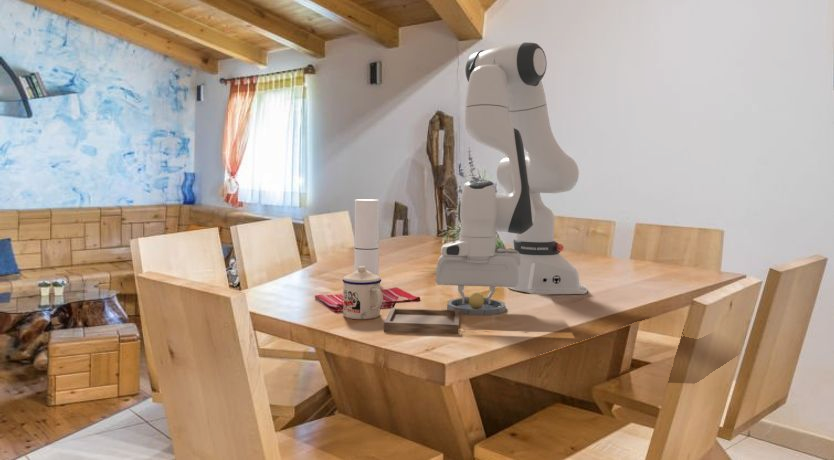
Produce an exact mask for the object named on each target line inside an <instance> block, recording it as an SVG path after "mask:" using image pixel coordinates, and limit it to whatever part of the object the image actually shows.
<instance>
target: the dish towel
mask: <svg viewBox="0 0 834 460" xmlns="http://www.w3.org/2000/svg"><path fill="white" fill-rule="evenodd" d="M380 291H381V292H382V295H383V302H382V305H381V307H380V310H381V309H391V308H392V307H394V308H395V306H396V304H397V303H406V302H408V303H413V302H419V301H421V297H420V296H416V295H413V294H411V293H409V292H408V291H405V290H403V289H401V288H400V287H398V286H397V287H392V288H386V289H380ZM400 297H402V298H406V299H399V298H400ZM314 299H315V301H316V302H317V303H319V304H321V305H322V306H323V307H325V308H326V309H328V310H329V311H330V312H332V313H343V293H341V294H340V293H339V294H338V293H337V294H317V295H316V294H315V295H314Z"/></svg>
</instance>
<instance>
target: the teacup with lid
mask: <svg viewBox="0 0 834 460" xmlns="http://www.w3.org/2000/svg"><path fill="white" fill-rule="evenodd" d="M381 282H382V278H381V276H379V275H378V276H377V275H374V274H372V273H371V272H369V271H366V267H365V266H359V267H358V271H354V270H353V272H352V273H350V274H346V275H344V277H343V278H342V283H343V287H342V288H343V291H342V292H343V293H342V294H343V312H342V314H343V316H344V317H345V318H347V319H352V320H371V319H375V318H378V317H380V315H381V309H380V307H381V305H382V302H383V295H382V292H381V291H380V290H381Z"/></svg>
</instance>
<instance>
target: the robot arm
mask: <svg viewBox="0 0 834 460" xmlns="http://www.w3.org/2000/svg"><path fill="white" fill-rule="evenodd" d="M467 59H468V60H467V61H466V64H465V68H464V70H465V77H466V80H467V82H468V83H467V89H466V95H465V105H464V106H465V107H464V108H465V109H464V123H465V129H466V131H467V132H468V134H469V136H470V137H471V138H472V139H473V140H475V141H476V142H478V143H480V144H482V145H484V146H486V147H489V148H491V149H494V150H495V151H499V152H500V153H502V154H504V155H505V156H506V157H504V158H502V159H501V160H500V161H499V163H498V165H497V168H496V178H497V179H496V180H497V182H498V183H499V185H500V186H501V187H502V188H503V189H504V190H505V192H506V193H497V191H496V185H495V183H494V182H493V181H490V180H487V179H473V180H472V179H471V180H467V181H466V182H464V183H463V187H462V191H461V198H460V201H459V202H458V210H457V211H458V212H457V213H458V214H457V215H458V216H457V218H458V221H459V223H460V224H461V227H460V231H459V239H457V240H453V241H449V242H446V243H444V244H442V246H441V248H440V253H441V255H440V256H439V257H438V259H437V263H436V267H435V277H434V280H435V283H436V284H437V285H438V286H456V287H457V291H458V293H459V295H460V296H461V298H462V304H468V298H469V295H465V293H464V288H465V287H466V286H467V287H488V288H489V293H488V295H483V296H484V300H485V301H484V304H486V305H490V299H492V297H493V295H494V294H495V292H496V287H498V288H500V287H502V288H508V289H510V290H512V291H516V292H523V293H528V294H531V295H584V294H587V292H588V288H587V286H586V285H585V284H582V283H580V276H579V271H578V269H577V268H576V266H575V265H573V264H572V263H571V262H570V261H568V259H566V258H565V257H563V256H562V255H561V252H563V251H564V249H565V246H564V245H563V244H562V243H559V242H556V241H555V240H554V238H555V236H554V235H555V214H554V212H553V211H552V210H551V209H550V208H549V207H547V206H546V205H545V203H544V201H543V200H542V197H541V193H542V194H561V193H565V192H569V191H572V190H573V189H574V187H575V186H576V185H577V182H578V181H579V175H580V172H579V171H580V170H579V167H578V164H577V163H576V161H575V160H574V158H572V157H571V156H570V155H568V154H567V153H566V152H565V151H564V150H563V149H562V147H561V146H560V145H559V144H558V142H557V140H556V138H555V136H554V134H553V131H552V128H551V124H550V118H549V112H548V106H547V100H546V94H545V89H544V85H543V82H542V79H543V78H544V76H545V74H546V71H547V66H548V65H547V63H548V62H547V56H546V53H545V51H544V49H543V47H541V46H540V45H539V44H538V43H535V42H522V43H511V44H504V45H503V44H502V45H501V46H496V47H493V48H489V49H486V50H485V49H483V50H479V51H477V52H474V53H473V54H471V55H470V56H469V57H468V58H467ZM525 152H526V154H525ZM496 232H503V233H509V234H510V233H511V234H514V239H513V241H512V248H511V247H510V248H504V247H497V233H496Z"/></svg>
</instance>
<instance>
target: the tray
mask: <svg viewBox="0 0 834 460" xmlns="http://www.w3.org/2000/svg"><path fill="white" fill-rule="evenodd" d="M383 331H384V332H387V333H389V332H390V333H414V334H415V333H417V334H420V333H421V334H423V333H424V334H448V335H451V334H452V335H459V334H460V313H459V310H448V309H435V308H433V309H432V308H405V307H403V308H402V307H400V308H399V307H394V308H390V311H389V312H388V314H387V316H386V318H385V319H384V322H383Z"/></svg>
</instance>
